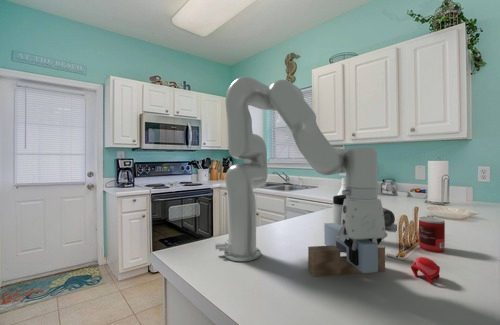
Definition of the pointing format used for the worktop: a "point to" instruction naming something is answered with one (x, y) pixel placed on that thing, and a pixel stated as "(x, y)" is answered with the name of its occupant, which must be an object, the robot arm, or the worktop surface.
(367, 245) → the crosspiece
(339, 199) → the travel mug
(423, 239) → the canned food
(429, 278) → the cap
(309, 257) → the beam
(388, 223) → the bluetooth speaker
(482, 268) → the worktop surface
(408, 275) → the worktop surface
